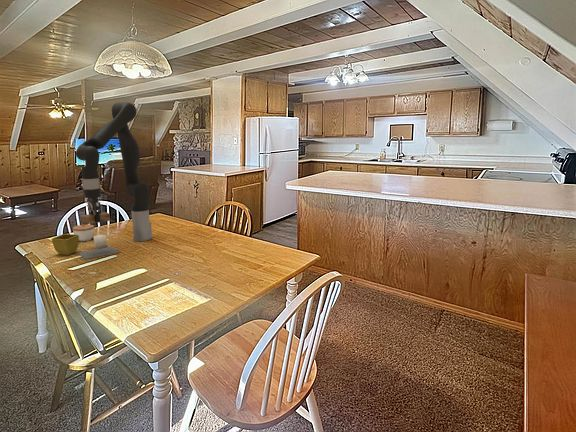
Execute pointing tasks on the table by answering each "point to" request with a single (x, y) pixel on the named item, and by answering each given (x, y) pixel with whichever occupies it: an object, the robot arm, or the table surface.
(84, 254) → the mat
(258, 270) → the table surface
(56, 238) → the flower pot
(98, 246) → the cream rounded block
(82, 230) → the lidded jar
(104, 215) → the lid
